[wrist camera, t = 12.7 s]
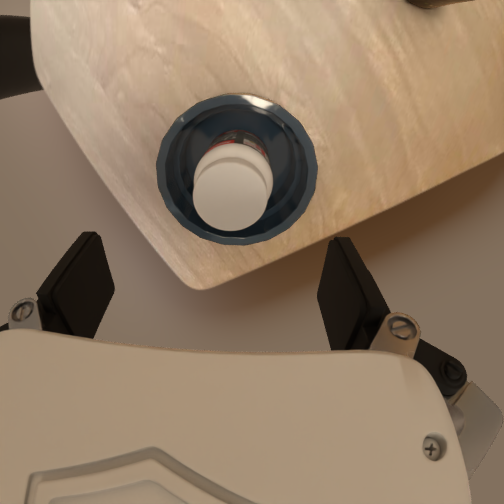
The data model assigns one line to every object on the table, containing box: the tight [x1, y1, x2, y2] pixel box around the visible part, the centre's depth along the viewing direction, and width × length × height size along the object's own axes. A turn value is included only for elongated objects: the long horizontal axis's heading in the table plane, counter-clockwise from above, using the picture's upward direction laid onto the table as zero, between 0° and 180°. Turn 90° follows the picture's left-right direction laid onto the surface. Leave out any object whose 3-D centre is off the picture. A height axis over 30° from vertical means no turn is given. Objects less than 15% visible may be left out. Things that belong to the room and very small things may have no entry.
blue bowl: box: [156, 93, 318, 245], centre depth 24 cm, size 13×13×6 cm
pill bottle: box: [193, 130, 273, 231], centre depth 21 cm, size 6×6×10 cm
